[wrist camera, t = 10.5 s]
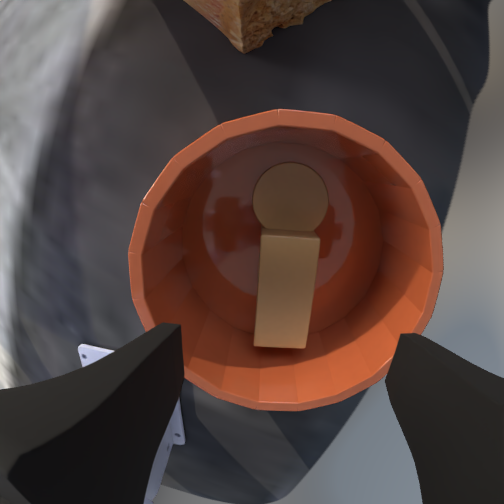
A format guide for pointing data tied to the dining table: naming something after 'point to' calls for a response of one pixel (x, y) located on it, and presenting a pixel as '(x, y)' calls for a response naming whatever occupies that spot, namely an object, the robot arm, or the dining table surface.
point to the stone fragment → (253, 17)
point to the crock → (248, 249)
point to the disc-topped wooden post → (287, 252)
